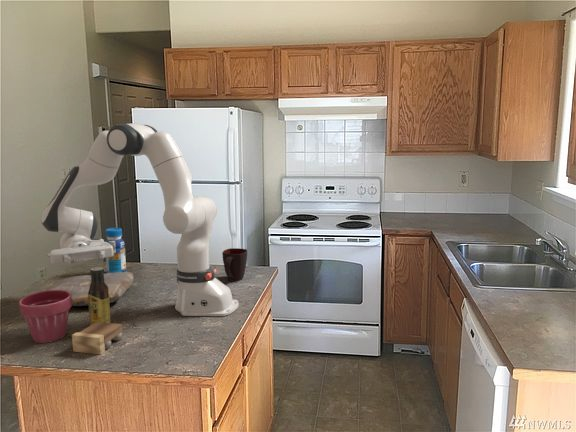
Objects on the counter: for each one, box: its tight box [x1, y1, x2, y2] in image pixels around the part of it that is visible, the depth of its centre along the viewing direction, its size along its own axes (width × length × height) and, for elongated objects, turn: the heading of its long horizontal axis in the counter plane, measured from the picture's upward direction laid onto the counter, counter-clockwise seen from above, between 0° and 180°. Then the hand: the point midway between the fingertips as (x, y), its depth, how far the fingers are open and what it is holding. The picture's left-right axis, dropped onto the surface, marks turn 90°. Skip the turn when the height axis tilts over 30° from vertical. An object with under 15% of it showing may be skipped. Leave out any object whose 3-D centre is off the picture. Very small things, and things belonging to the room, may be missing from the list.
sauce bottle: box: [88, 266, 111, 326], centre depth 154 cm, size 6×6×20 cm
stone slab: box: [45, 271, 135, 307], centre depth 184 cm, size 31×29×6 cm
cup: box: [221, 247, 248, 282], centre depth 203 cm, size 10×14×12 cm
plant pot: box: [18, 290, 73, 344], centre depth 148 cm, size 14×14×13 cm
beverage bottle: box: [105, 227, 127, 273], centre depth 213 cm, size 8×8×20 cm
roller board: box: [71, 322, 124, 355], centre depth 143 cm, size 9×11×5 cm
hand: (86, 258), depth 163 cm, fingers open, 8 cm apart
